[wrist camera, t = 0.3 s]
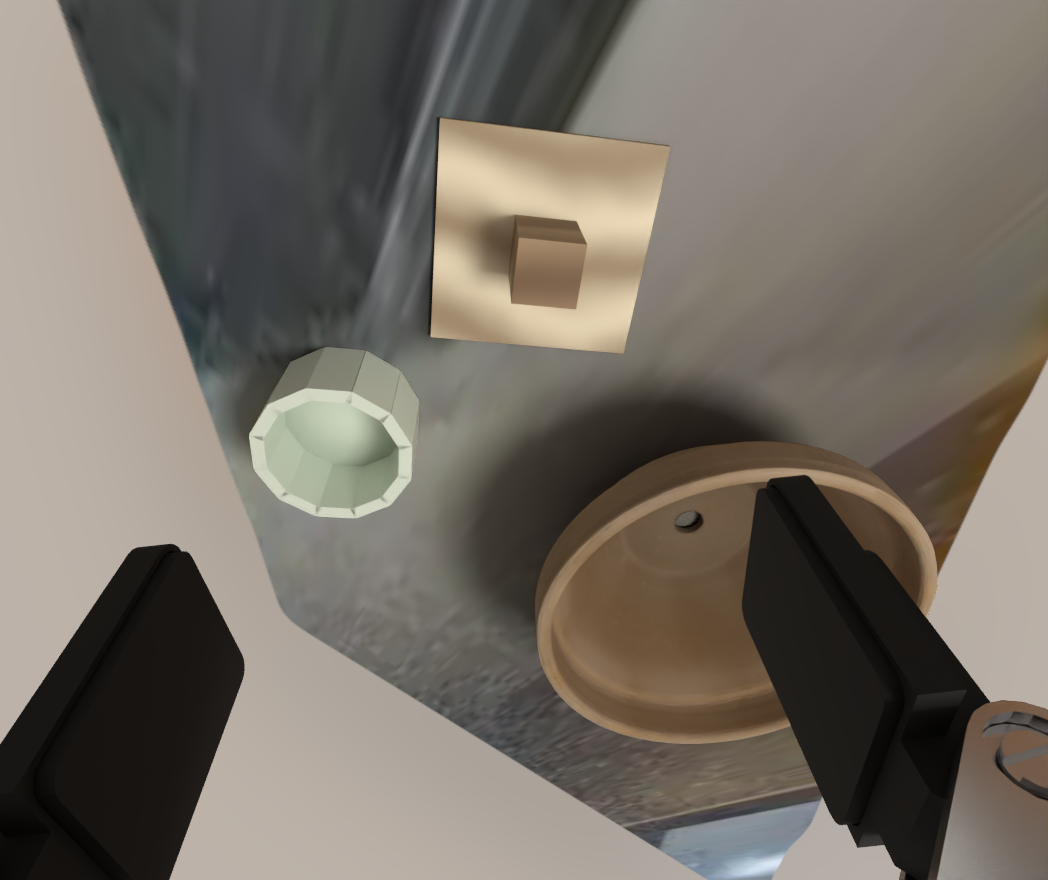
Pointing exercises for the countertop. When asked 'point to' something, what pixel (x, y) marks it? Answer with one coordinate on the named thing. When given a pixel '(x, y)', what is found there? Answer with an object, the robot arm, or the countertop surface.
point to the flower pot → (693, 589)
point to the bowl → (337, 434)
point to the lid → (540, 235)
